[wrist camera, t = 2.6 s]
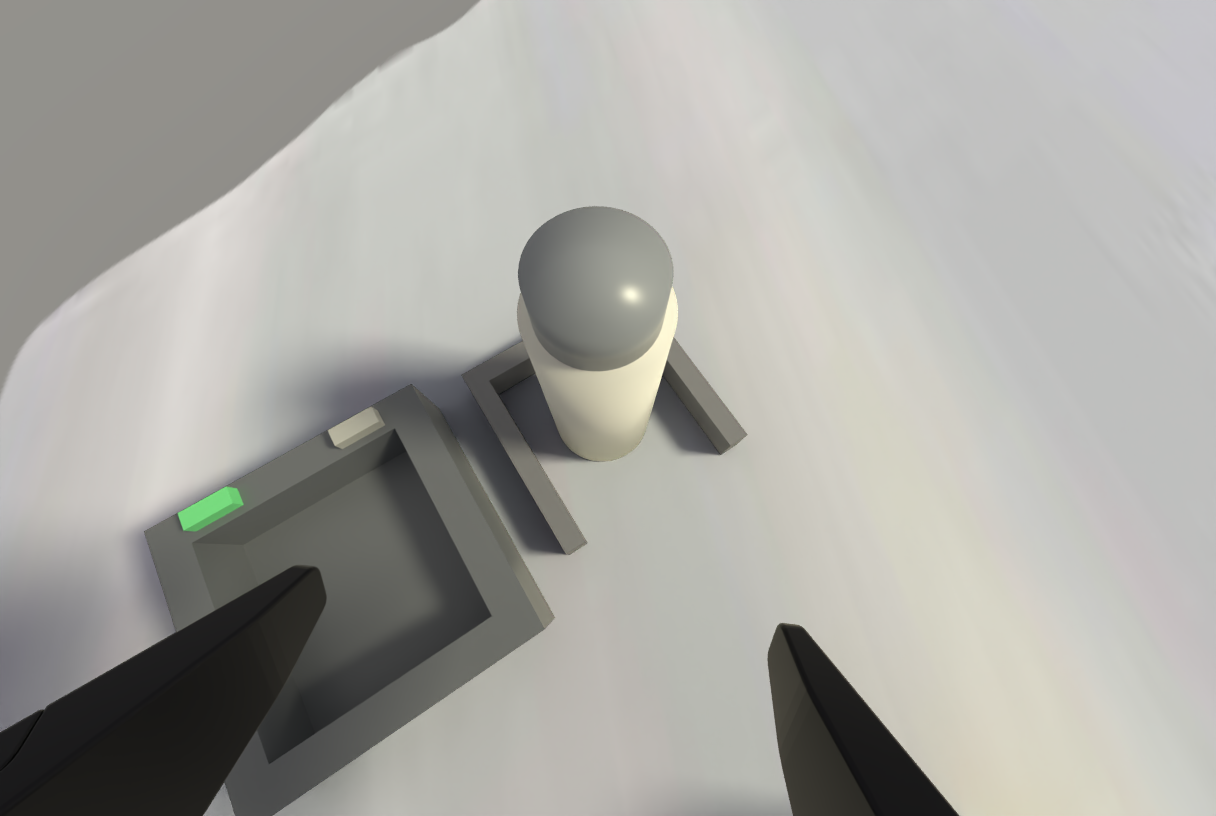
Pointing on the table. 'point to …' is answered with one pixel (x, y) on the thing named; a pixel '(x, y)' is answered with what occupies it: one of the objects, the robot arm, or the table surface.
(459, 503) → the dock
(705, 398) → the grey u-shaped rail
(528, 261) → the plug
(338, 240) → the table surface
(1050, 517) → the table surface
